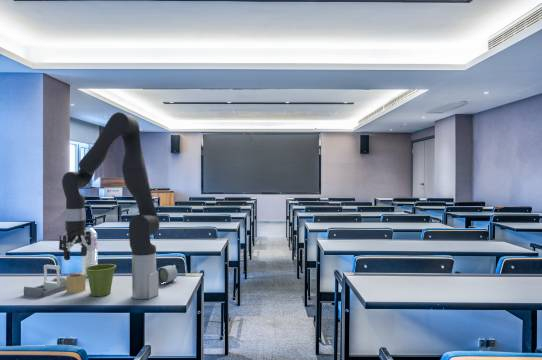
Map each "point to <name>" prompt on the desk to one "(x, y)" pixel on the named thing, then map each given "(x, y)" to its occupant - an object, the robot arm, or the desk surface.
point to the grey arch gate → (49, 284)
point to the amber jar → (75, 282)
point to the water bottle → (90, 252)
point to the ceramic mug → (166, 274)
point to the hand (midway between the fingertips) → (75, 257)
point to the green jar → (62, 281)
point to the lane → (42, 291)
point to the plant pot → (100, 278)
